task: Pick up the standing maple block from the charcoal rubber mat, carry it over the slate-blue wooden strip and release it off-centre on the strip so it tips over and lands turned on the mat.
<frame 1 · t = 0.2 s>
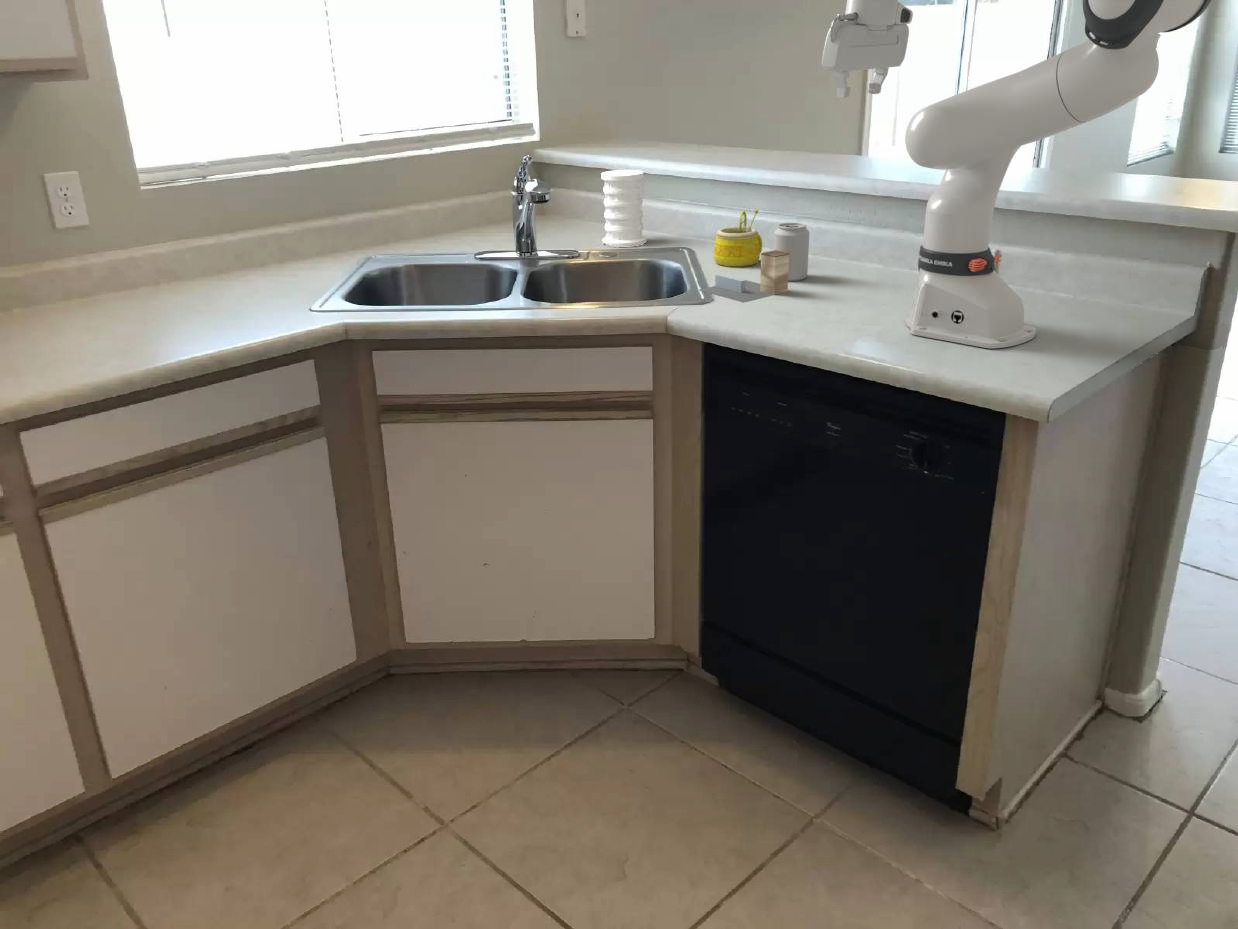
hand: (858, 95, 173), 39 cm above the worktop, tool pointing down, fingers open, 8 cm apart
decorative container: (624, 243, 249), on the worktop
mat: (743, 292, 198), on the worktop
yellow pot: (740, 264, 223), on the worktop
strip: (730, 288, 200), resting on mat
block: (773, 291, 197), resting on mat
can: (789, 280, 207), on the worktop
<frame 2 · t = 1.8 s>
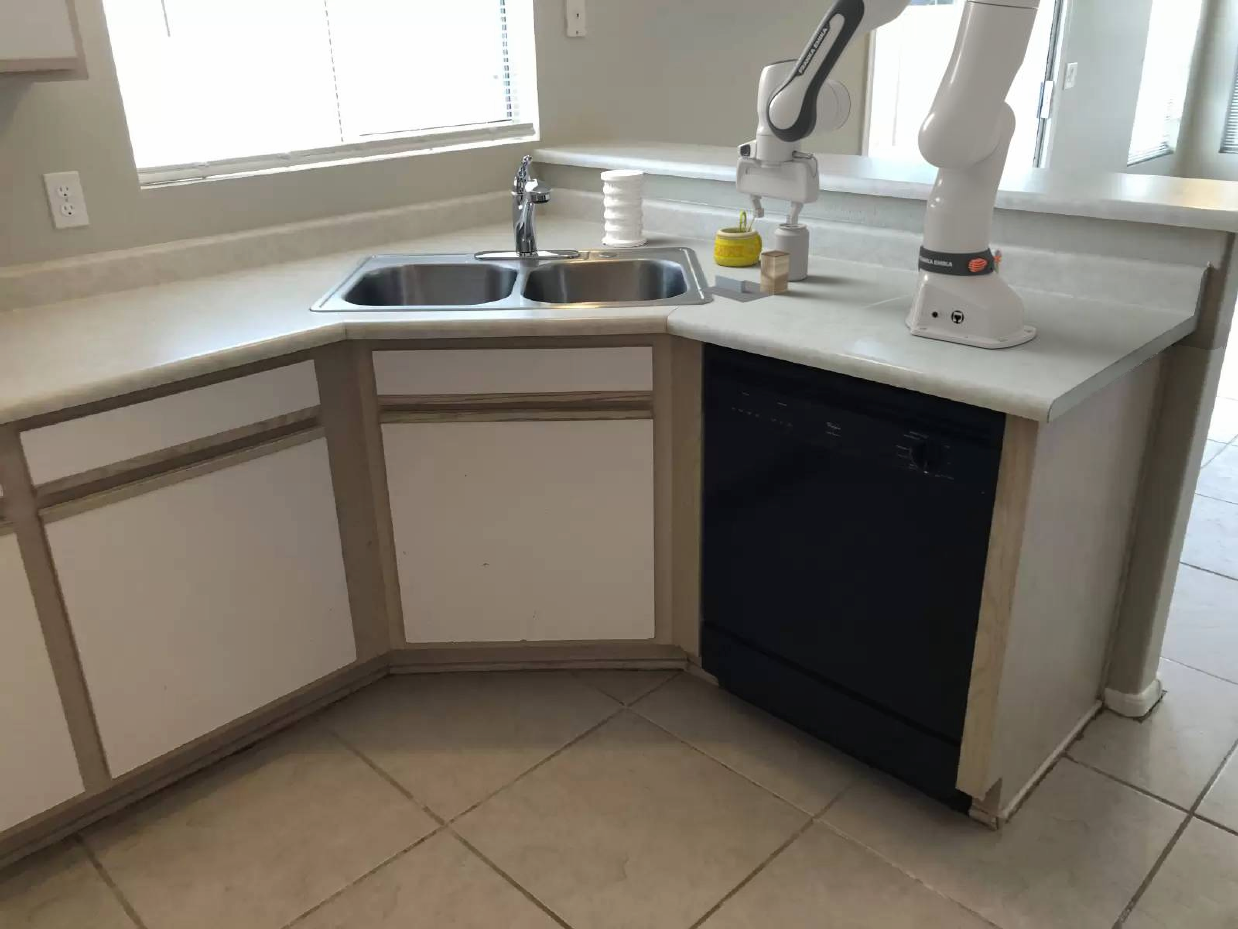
hand: (774, 220, 191), 15 cm above the worktop, tool pointing down, fingers open, 8 cm apart
nothing on the worktop moved.
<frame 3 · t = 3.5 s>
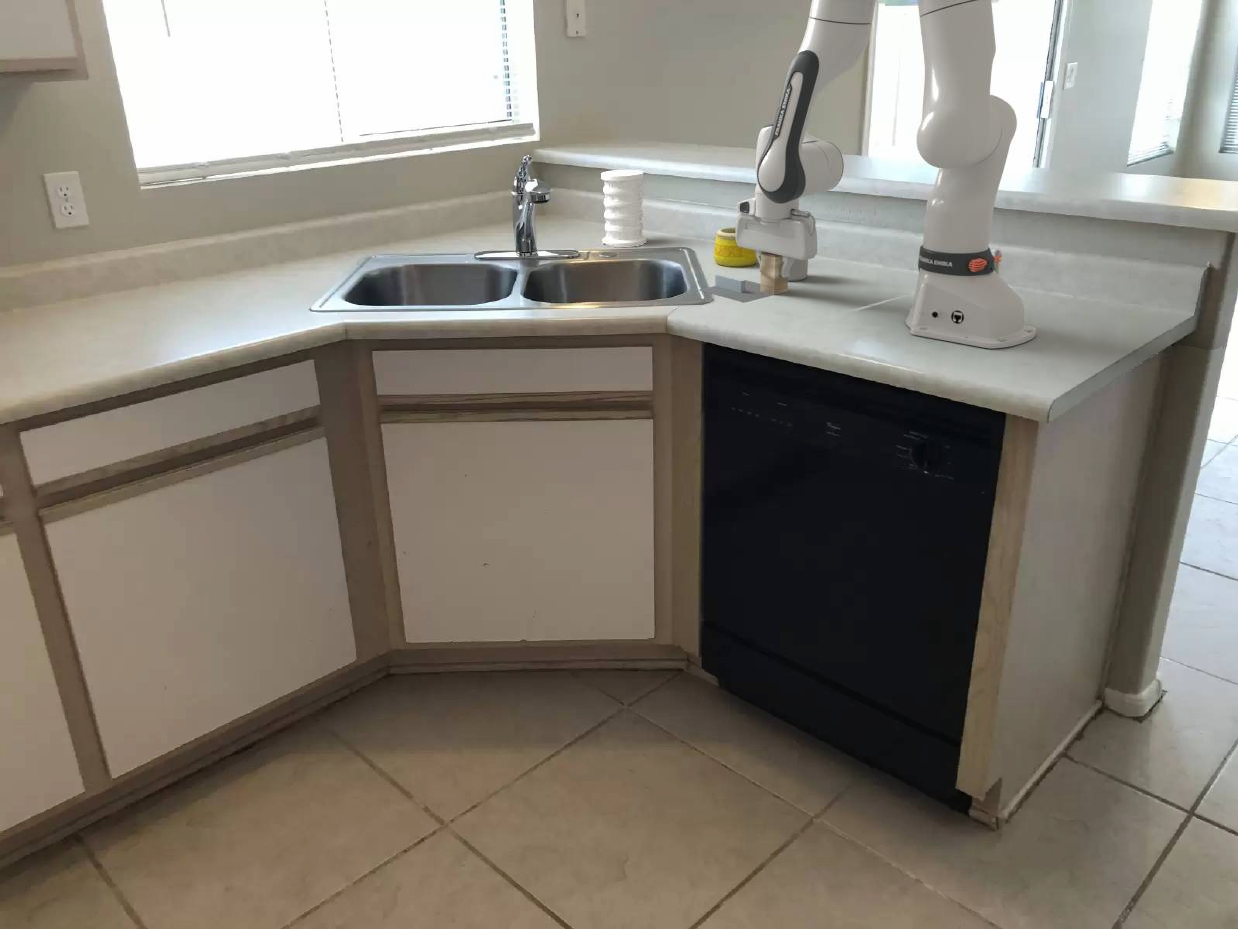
hand: (774, 274, 195), 4 cm above the worktop, tool pointing down, fingers closed on block, 4 cm apart
block: (773, 291, 197), resting on mat, touching gripper
everything else where it was.
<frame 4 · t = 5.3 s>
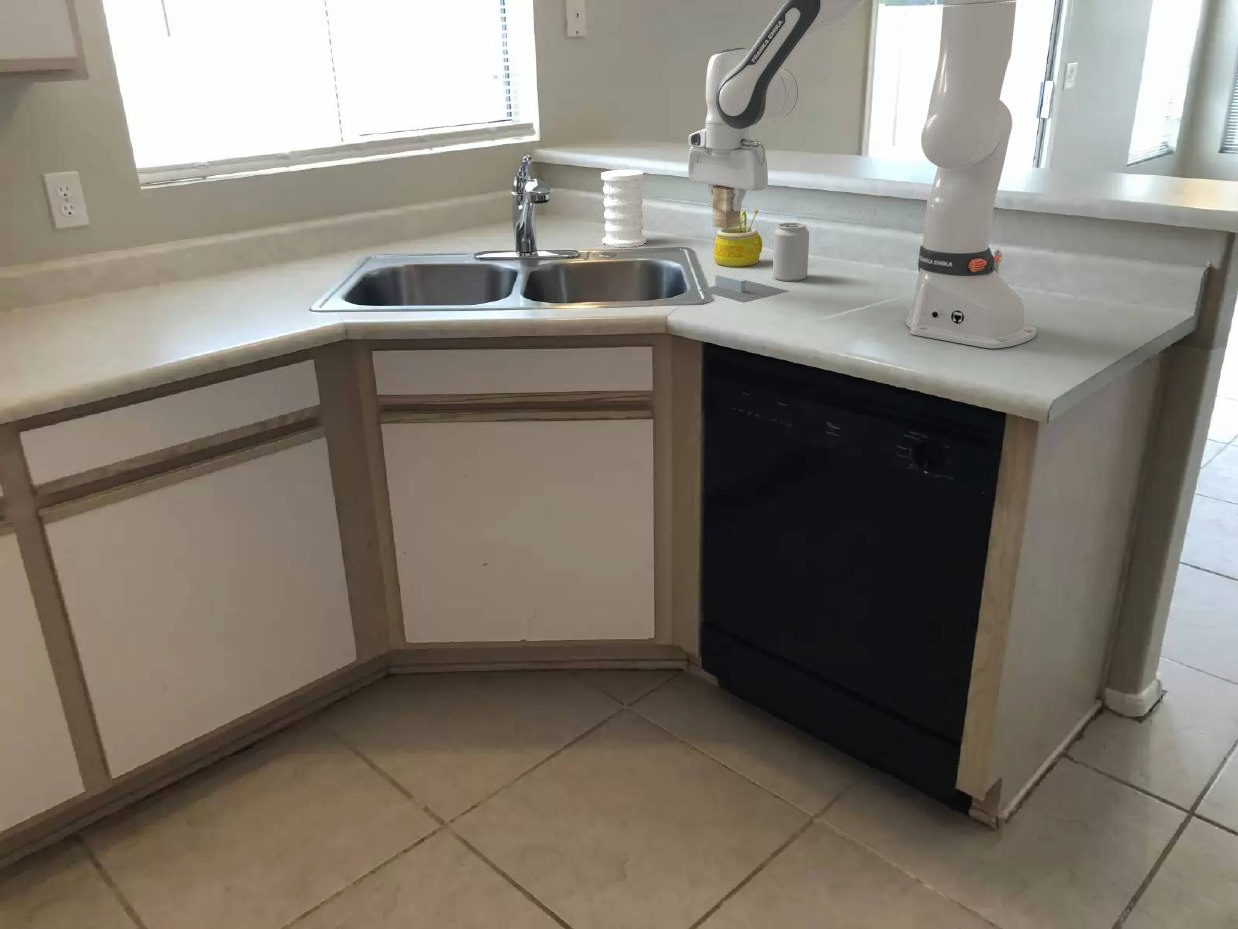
hand: (726, 208, 192), 17 cm above the worktop, tool pointing down, fingers closed on block, 4 cm apart
block: (726, 226, 194), point 14 cm above the worktop, touching gripper
everything else where it was.
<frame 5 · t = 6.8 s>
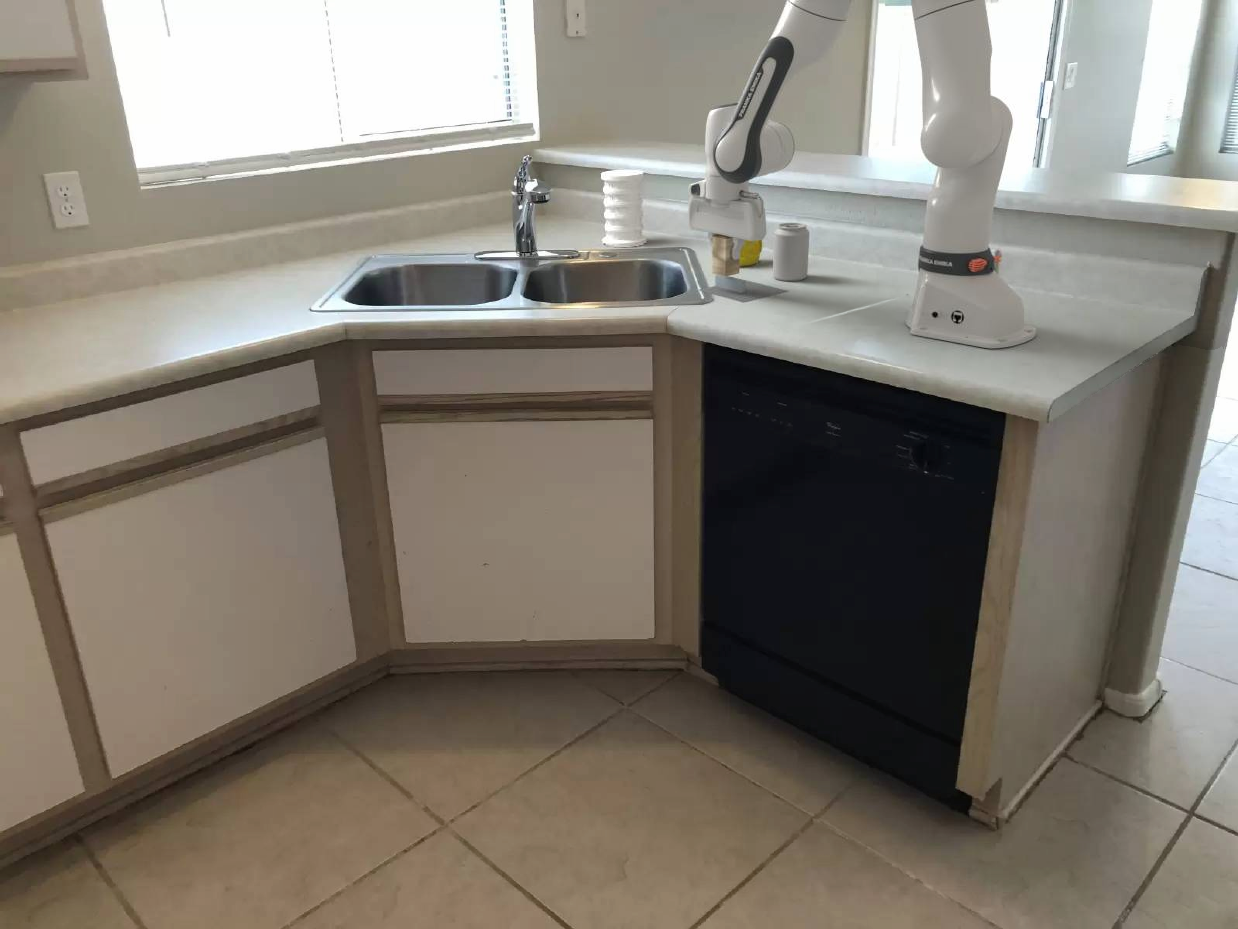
hand: (725, 256, 196), 7 cm above the worktop, tool pointing down, fingers closed on block, 4 cm apart
block: (725, 273, 198), point 4 cm above the worktop, touching gripper
everything else where it was.
when the fingers open (7 cm above the worktop, at t = 7.4 s): block drops 1 cm and tips over, resting on mat.
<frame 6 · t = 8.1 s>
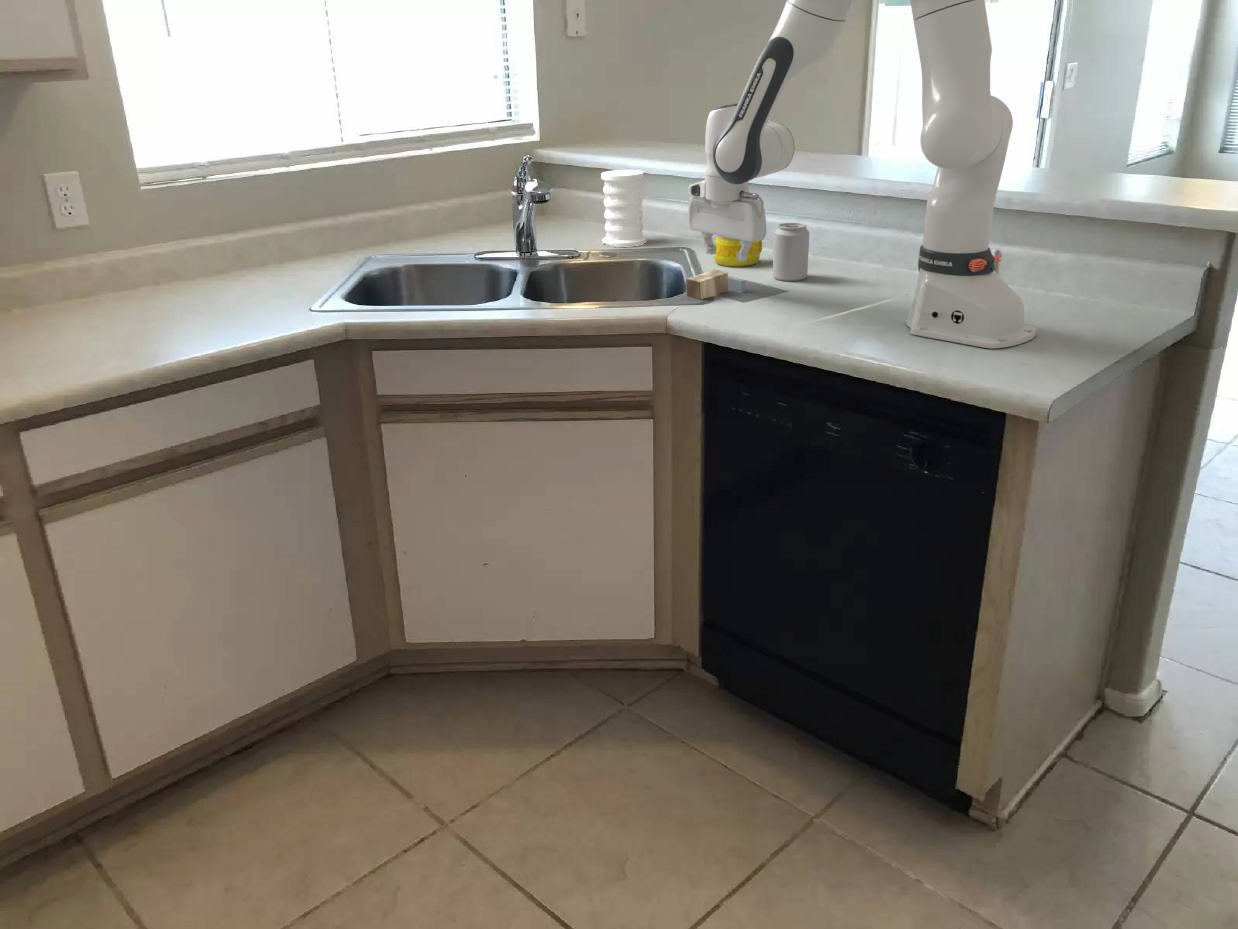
hand: (726, 257, 196), 7 cm above the worktop, tool pointing down, fingers open, 8 cm apart
block: (721, 280, 198), point 3 cm above the worktop, tilted 95°, touching mat
everything else where it was.
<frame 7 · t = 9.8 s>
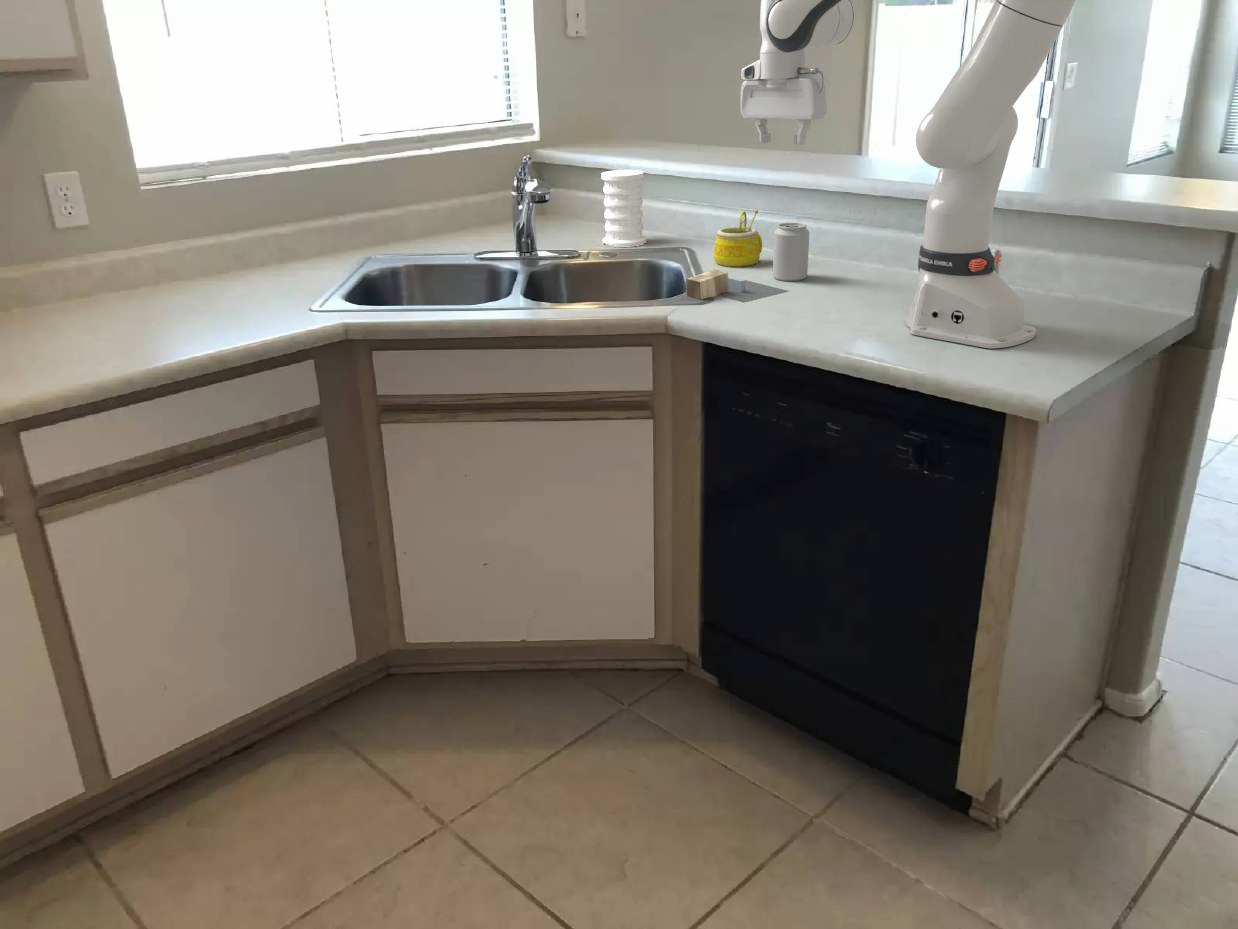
hand: (782, 143, 188), 29 cm above the worktop, tool pointing down, fingers open, 8 cm apart
nothing on the worktop moved.
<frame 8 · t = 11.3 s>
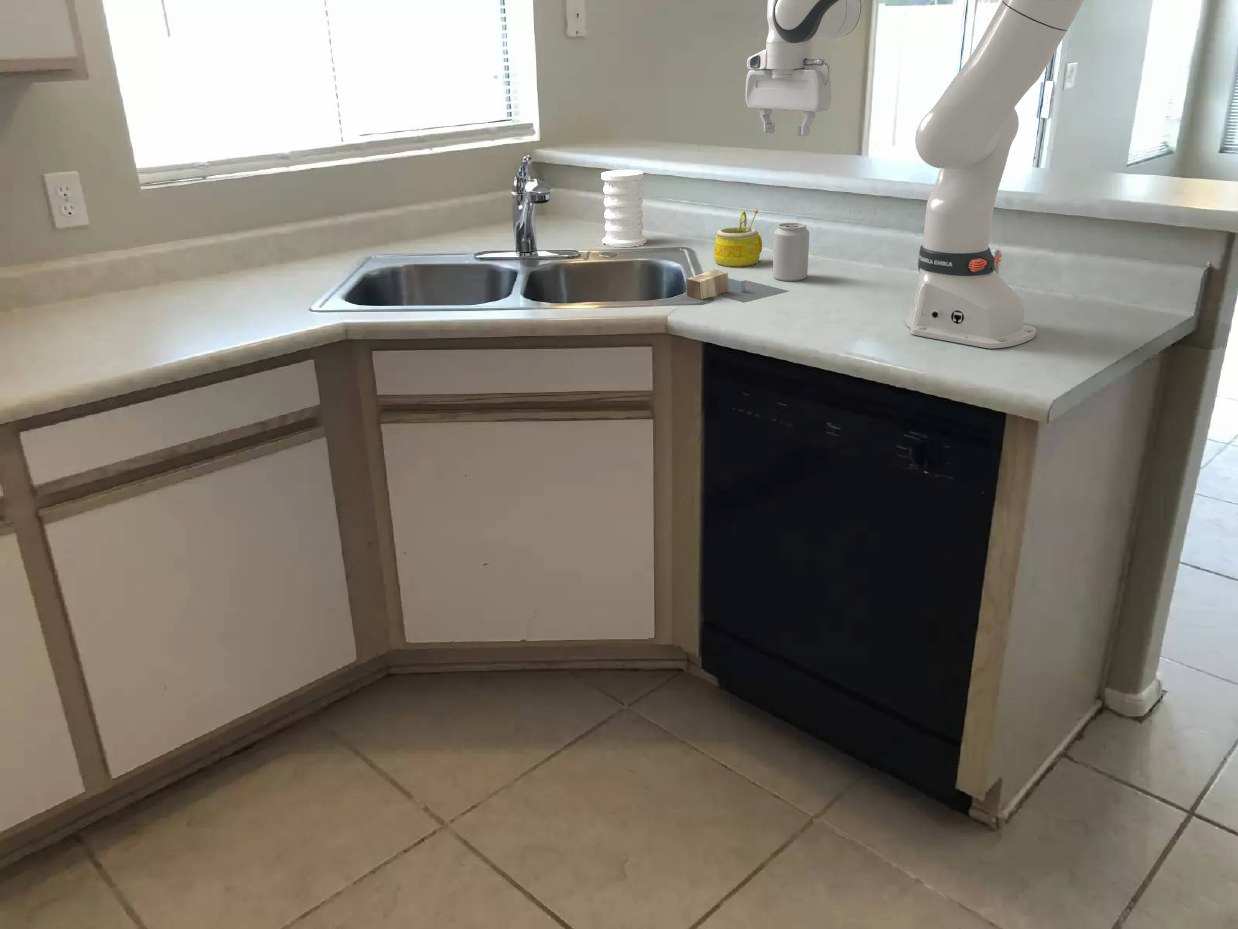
hand: (785, 134, 187), 31 cm above the worktop, tool pointing down, fingers open, 8 cm apart
nothing on the worktop moved.
at the end: block tilted 95°; block inside the target area (1.6 cm from its centre), point 2.7 cm above the worktop; the gripper is holding nothing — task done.
